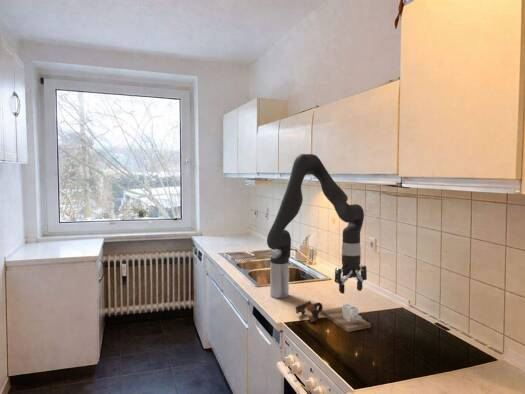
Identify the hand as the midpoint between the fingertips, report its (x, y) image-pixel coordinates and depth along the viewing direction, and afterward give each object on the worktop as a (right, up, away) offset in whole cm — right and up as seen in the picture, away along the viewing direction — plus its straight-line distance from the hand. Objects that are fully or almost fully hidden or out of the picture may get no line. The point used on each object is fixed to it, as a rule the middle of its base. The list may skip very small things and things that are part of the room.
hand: (350, 291), depth 156 cm
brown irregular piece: (-16, -13, +7) cm, 22 cm away
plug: (0, -12, 0) cm, 12 cm away
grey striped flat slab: (-2, -13, +4) cm, 14 cm away
